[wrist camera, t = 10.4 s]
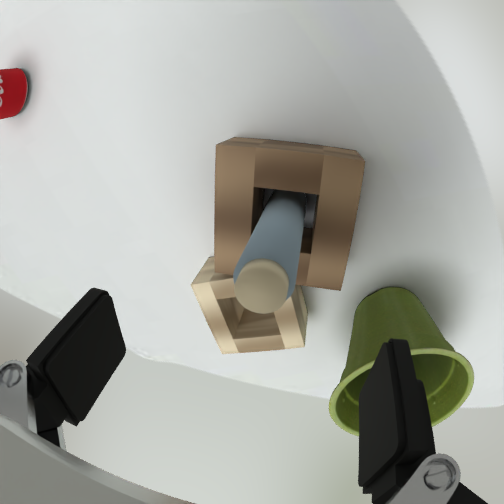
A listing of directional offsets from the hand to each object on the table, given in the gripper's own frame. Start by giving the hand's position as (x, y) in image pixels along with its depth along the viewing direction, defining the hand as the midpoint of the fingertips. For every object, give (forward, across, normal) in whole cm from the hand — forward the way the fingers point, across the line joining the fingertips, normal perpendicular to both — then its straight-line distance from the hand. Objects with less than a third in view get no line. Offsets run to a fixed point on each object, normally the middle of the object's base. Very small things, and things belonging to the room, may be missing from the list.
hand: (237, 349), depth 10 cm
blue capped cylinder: (+18, 0, +1) cm, 18 cm away
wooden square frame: (+18, 0, +1) cm, 18 cm away
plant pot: (+18, -12, +12) cm, 25 cm away
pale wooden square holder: (+18, +2, +10) cm, 21 cm away
